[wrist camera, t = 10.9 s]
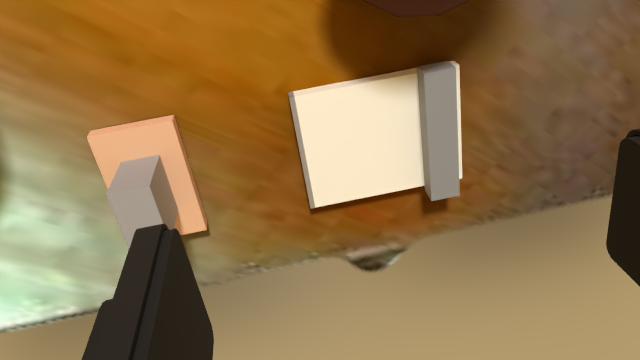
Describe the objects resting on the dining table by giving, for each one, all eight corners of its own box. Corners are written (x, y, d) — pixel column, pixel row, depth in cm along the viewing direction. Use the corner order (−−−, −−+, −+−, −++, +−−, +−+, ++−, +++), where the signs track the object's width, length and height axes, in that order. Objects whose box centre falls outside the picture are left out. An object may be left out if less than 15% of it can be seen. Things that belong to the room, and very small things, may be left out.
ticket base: (453, 54, 41) (467, 65, 38) (457, 176, 46) (470, 193, 44) (286, 86, 41) (289, 99, 38) (310, 206, 46) (314, 224, 43)
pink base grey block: (173, 114, 40) (163, 148, 35) (207, 222, 45) (202, 266, 40) (90, 130, 40) (66, 167, 35) (133, 237, 45) (118, 283, 40)
